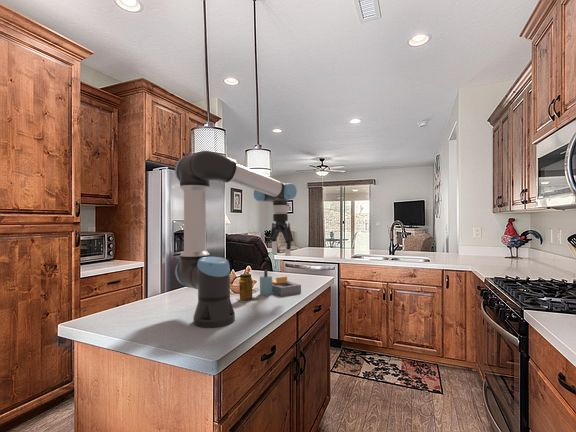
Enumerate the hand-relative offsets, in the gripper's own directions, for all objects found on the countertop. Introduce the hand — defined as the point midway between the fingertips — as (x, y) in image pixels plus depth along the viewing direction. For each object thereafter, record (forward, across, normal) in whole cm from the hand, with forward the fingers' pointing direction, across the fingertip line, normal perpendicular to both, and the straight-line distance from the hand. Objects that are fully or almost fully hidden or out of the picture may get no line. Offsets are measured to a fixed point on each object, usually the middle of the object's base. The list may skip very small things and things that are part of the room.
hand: (280, 254), depth 161 cm
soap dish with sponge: (+19, +3, -2) cm, 20 cm away
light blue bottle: (+20, +2, +8) cm, 21 cm away
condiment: (+20, -2, +20) cm, 28 cm away
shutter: (+15, +6, -2) cm, 16 cm away
